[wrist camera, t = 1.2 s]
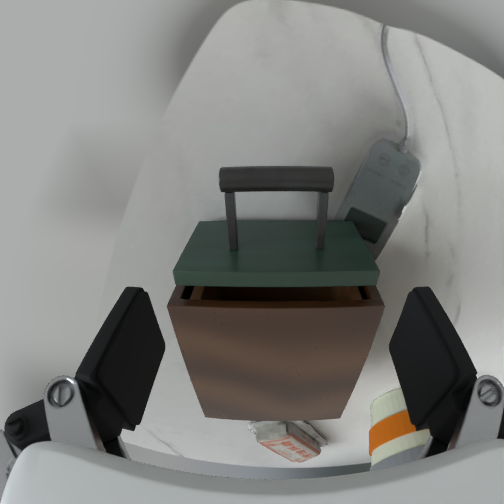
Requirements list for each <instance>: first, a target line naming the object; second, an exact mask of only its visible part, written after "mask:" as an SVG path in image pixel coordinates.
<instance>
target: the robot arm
mask: <svg viewBox="0 0 504 504" xmlns="http://www.w3.org/2000/svg"><path fill="white" fill-rule="evenodd" d="M389 351H390V354H391V357H392V360H393V363H394V366H395V369H396V373H397V376H398V379H399V382H400V386H401V389H402V392H403V396H404V399H405V403H406V407H407V410H408V414H409V418H410V422H411V424H412V425H415V428H416V432H417V431H420V430H424V429H428V428H429V431H430V436H429V438H428V440H427V442H426V445H425V447H424V449H423V451H422V453H421V455H420V457H419V459H418V460H416V461H412V462H409V463H405V464H401V465H397V466H393V467H388V468H384V469H379V470H374V471H368V472H362V473H356V474H350V475H341V476H333V477H323V478H310V479H287V480H286V479H285V480H266V479H264V480H262V479H242V478H229V477H218V476H209V475H202V474H195V473H188V472H182V471H177V470H171V469H167V468H162V467H157V466H153V465H149V464H145V463H141V462H137V461H133V460H131V458H130V456H129V454H128V452H127V450H126V448H125V445H124V443H123V441H122V439H121V436H120V434H121V431H122V428H123V429H127V430H131V431H134V430H135V427H136V425H139V424H140V423H141V420H142V417H143V414H144V411H145V408H146V405H147V402H148V398H149V395H150V392H151V389H152V386H153V383H154V381H155V378H156V375H157V372H158V369H159V366H160V363H161V360H162V357H163V355H164V352H165V342H164V339H163V336H162V333H161V330H160V328H159V325H158V322H157V319H156V316H155V313H154V310H153V307H152V304H151V301H150V298H149V295H148V293H147V292H144V289H143V288H141V287H126V288H125V289H124V291H123V293H122V294H121V296H120V297H119V299H118V301H117V302H116V304H115V305H114V307H113V309H112V310H111V312H110V313H109V315H108V317H107V318H106V320H105V322H104V324H103V325H102V327H101V329H100V330H99V332H98V334H97V335H96V337H95V339H94V341H93V342H92V345H91V346H90V348H89V350H88V352H87V353H86V355H85V357H84V359H83V361H82V363H81V365H80V366H79V368H78V370H77V372H76V376H75V378H72V377H70V376H65V375H63V376H58V377H56V378H54V379H52V381H51V382H49V383H48V385H47V386H46V388H45V391H44V399H42V400H40V401H38V402H36V403H33V404H31V405H29V406H27V407H25V408H22V409H20V410H18V411H15V412H14V413H12V414H11V415H10V416H9V417H8V419H7V420H6V422H5V431H3V430H0V504H504V387H503V385H502V384H501V382H500V381H499V380H498V379H497V378H495V377H493V376H490V375H483V376H481V377H479V378H478V379H477V377H476V374H477V371H476V369H475V367H474V365H473V363H472V361H471V359H470V357H469V355H468V353H467V351H466V349H465V347H464V345H463V343H462V341H461V339H460V337H459V335H458V334H457V332H456V330H455V328H454V326H453V325H452V323H451V321H450V319H449V318H448V316H447V314H446V313H445V311H444V309H443V307H442V306H441V304H440V303H439V301H438V299H437V298H436V296H435V294H434V293H433V291H432V290H431V288H430V287H415V288H414V289H413V290H412V292H409V294H408V296H407V299H406V302H405V305H404V308H403V310H402V313H401V316H400V318H399V321H398V323H397V326H396V329H395V331H394V334H393V336H392V338H391V341H390V344H389Z"/></svg>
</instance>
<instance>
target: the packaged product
mask: <svg viewBox="0 0 504 504" xmlns="http://www.w3.org/2000/svg"><path fill="white" fill-rule="evenodd" d="M248 430H250V431H251V432H252V433H254V434H256V438H257V442H259V443H260V444H262V445H263V446H265V447H267V448H269V449H270V450H272V451H274V452H275V453H277V454H279V455H281V456H283V457H285V458H287V459H288V460H290V461H292V462H304V461H306V460H308V459H311V458H313V457H315V456H317V455H319V454H320V452H321V449H320V447H322V446H324V445H328V442H327V440H325V439H323V438H322V437H321V436H320V435H319V434H318V433H317V432H316V431H315V430H314V429H313V427H312V426H311V425H309V424H306V423H305V422H304V421H259V422H253V423H249V427H248Z"/></svg>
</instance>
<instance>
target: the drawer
mask: <svg viewBox="0 0 504 504" xmlns="http://www.w3.org/2000/svg"><path fill="white" fill-rule="evenodd" d="M219 186H220V190H221V192H225V205H226V217H227V221H201V222H199V223H198V225H197V226H196V228H195V230H194V232H193V234H192V236H191V237H190V239H189V241H188V243H187V245H186V247H185V249H184V250H183V252H182V254H181V256H180V258H179V260H178V262H177V264H176V266H175V268H174V270H173V275H174V280H175V284H176V285H178V286H195V287H194V289H193V292H192V295H191V298H190V300H220V301H336V300H362V297H361V294H360V292H359V289H358V286H376V285H377V282H378V277H379V273H380V270H379V268H378V266H377V265H376V263H375V261H374V259H373V257H372V255H371V253H370V252H369V250H368V248H367V246H366V244H365V243H364V241H363V239H362V237H361V236H360V234H359V232H358V230H357V229H356V227H355V225H354V224H353V222H352V221H327V207H328V192H332V190H333V186H334V173H333V169H332V167H317V166H245V167H222V168H220V171H219ZM250 191H314V192H318V204H317V221H237V217H236V202H235V192H250Z"/></svg>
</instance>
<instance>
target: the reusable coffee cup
mask: <svg viewBox="0 0 504 504" xmlns="http://www.w3.org/2000/svg"><path fill="white" fill-rule="evenodd" d="M370 409H371V429H370V431H369V455H370V456H372V467H371V468H370V471H374V470H379V469H384V468H388V467H393V466H397V465H401V464H405V463H409V462H412V461H416V460H418V459H419V457H420V455H421V453H422V451H423V449H424V447H425V445H426V442H427V440H428V438H429V436H430V431H429V428H428V429H424V430H420V431H417V432H416V428H415V425H412V424H411V422H410V418H409V414H408V410H407V407H406V403H405V399H404V396H403V392H402V389H401V388H399V389H395V390H392V391H390V392H387V393H385V394H383V395H382V396H380V397H378V398H377V399H376V400H375V401H374V402H373V403H372V404H371V407H370Z"/></svg>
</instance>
